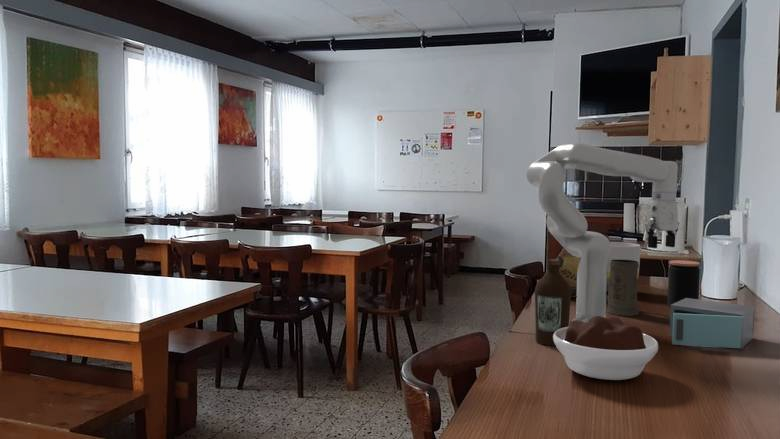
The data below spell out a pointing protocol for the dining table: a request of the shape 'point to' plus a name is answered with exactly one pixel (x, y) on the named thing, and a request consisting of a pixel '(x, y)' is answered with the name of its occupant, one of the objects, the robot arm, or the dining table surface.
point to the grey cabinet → (715, 312)
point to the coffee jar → (683, 280)
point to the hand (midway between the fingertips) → (661, 247)
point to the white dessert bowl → (605, 348)
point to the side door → (708, 330)
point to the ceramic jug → (569, 269)
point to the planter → (623, 254)
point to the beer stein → (623, 288)
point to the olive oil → (551, 304)
